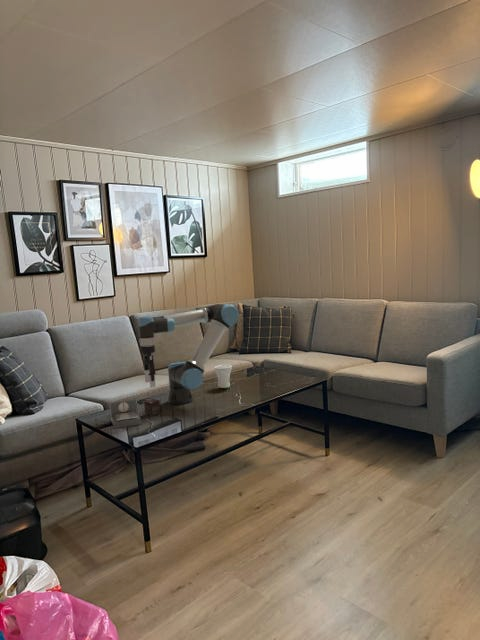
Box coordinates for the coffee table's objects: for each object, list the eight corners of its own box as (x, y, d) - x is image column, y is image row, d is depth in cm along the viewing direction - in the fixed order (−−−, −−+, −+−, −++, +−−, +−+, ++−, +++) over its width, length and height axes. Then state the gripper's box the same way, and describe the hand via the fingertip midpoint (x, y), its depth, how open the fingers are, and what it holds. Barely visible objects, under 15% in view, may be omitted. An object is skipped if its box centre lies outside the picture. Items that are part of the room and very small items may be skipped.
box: (153, 411, 261) (152, 398, 260) (160, 413, 257) (159, 400, 256) (144, 414, 256) (143, 401, 256) (151, 416, 252) (150, 402, 252)
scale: (136, 417, 252) (134, 398, 252) (141, 424, 240) (139, 404, 239) (111, 421, 248) (109, 402, 247) (114, 428, 235) (113, 408, 234)
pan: (134, 412, 248) (134, 411, 248) (137, 417, 240) (137, 415, 239) (114, 416, 244) (114, 414, 244) (116, 420, 236) (116, 419, 236)
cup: (213, 389, 302) (211, 368, 301) (219, 385, 313) (218, 364, 311) (229, 390, 299) (228, 368, 297) (235, 386, 309) (234, 364, 308)
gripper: (136, 343, 263) (139, 380, 265) (144, 349, 240) (147, 390, 242) (149, 342, 266) (152, 379, 268) (159, 347, 243) (162, 388, 245)
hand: (150, 384), depth 255 cm, fingers open, 13 cm apart
